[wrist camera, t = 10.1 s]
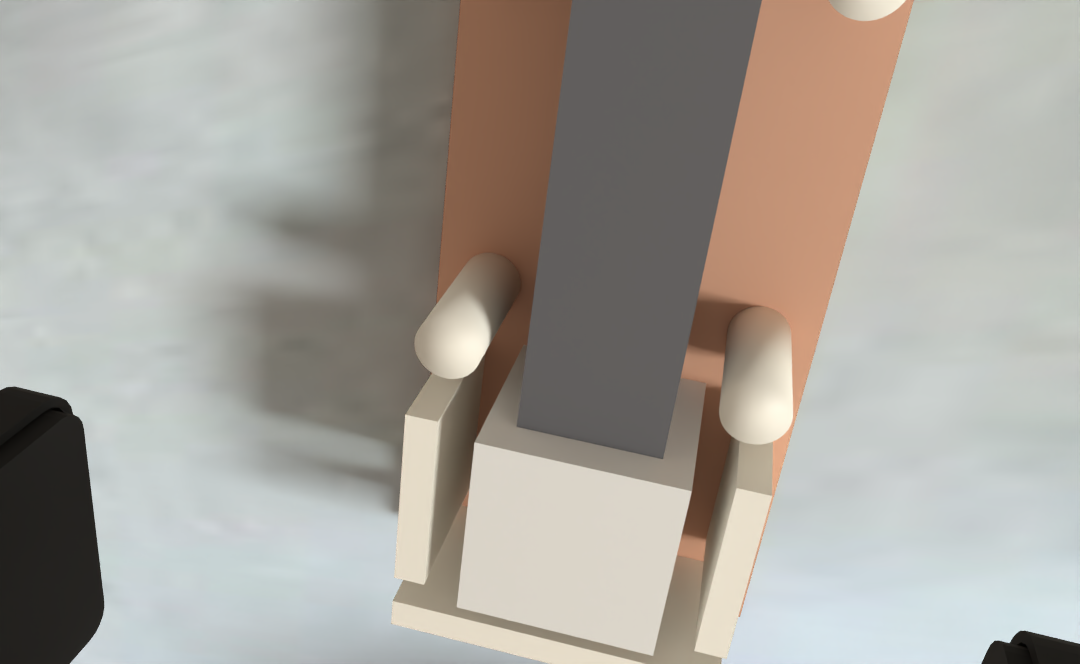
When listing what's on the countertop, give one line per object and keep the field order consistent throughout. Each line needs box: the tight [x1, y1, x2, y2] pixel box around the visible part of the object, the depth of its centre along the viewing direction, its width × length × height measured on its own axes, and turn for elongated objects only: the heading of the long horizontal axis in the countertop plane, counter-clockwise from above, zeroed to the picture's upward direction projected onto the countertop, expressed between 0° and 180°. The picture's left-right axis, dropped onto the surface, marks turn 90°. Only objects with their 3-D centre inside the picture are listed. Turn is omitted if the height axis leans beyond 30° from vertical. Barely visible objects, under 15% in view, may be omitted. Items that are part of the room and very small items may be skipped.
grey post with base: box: [457, 0, 762, 656], centre depth 22 cm, size 23×5×5 cm, turn 173°
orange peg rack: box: [391, 0, 914, 664], centre depth 23 cm, size 26×10×6 cm, turn 173°
